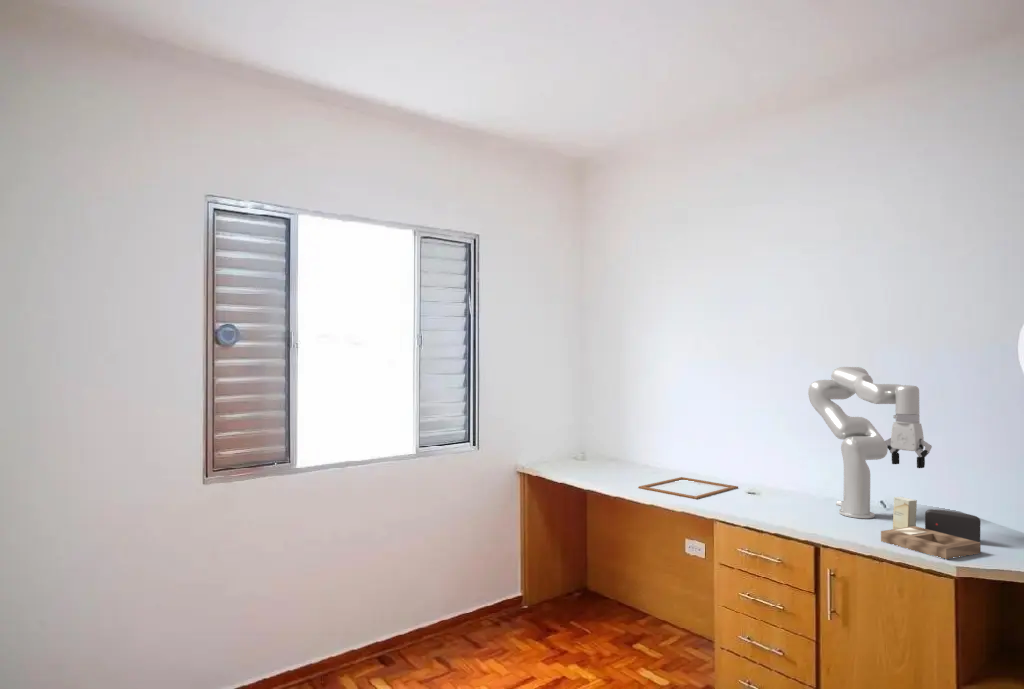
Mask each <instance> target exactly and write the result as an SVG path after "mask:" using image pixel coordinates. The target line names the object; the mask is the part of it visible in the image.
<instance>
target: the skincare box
mask: <svg viewBox="0 0 1024 689" xmlns="http://www.w3.org/2000/svg"><path fill="white" fill-rule="evenodd" d="M917 505H918V500H916V499H913V498H910V497H905V496H896V497H895V496H894V497H893V513H892V514H893V515H892V516H893V517H892V519H893V520H892V529H898V528H905V527H911V526H916V527H917Z"/></svg>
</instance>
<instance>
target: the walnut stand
mask: <svg viewBox="0 0 1024 689" xmlns="http://www.w3.org/2000/svg"><path fill="white" fill-rule="evenodd" d="M882 541H883V543H885V542H886V544H889V543H890V545H892V544H894V545H893V546H896V545H898V546H897V547H899V546H901V547H900V548H903V547H904V549H906V548H908V549H907V550H910V549H911V550H910V551H913V550H915V551H914V552H917V551H919V552H918V553H920V552H923V553H922V554H924V553H926V554H925V555H927V554H930V555H929V556H931V555H934V556H938V557H941V558H945V559H948V560H950V559H949V558H953V557H958V558H962V557H961V556H964V557H967V556H966V555H969V556H973V554H974V555H978V553H979V554H981V549H982V548H981V546H982V545H981V541H980V542H976V541H972V540H968V539H964V538H960V537H956V536H952V535H948V534H944V533H940V532H936V531H932V530H928V529H925V527H924V528H923V527H920V526H917V525H916V526H911V527H905V528H898V529H893V528H892V529H887V530H881V531H880V542H882ZM934 556H933V557H934ZM959 556H960V557H959ZM938 557H937V558H938ZM941 558H940V559H941ZM945 559H944V560H945ZM953 559H954V558H953Z"/></svg>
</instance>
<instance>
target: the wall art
mask: <svg viewBox="0 0 1024 689" xmlns="http://www.w3.org/2000/svg"><path fill="white" fill-rule="evenodd" d="M679 480H688V481H694V482H690V483H692V484H697V485H704V486H709V487H715V488H717V489H714V490H710V491H706V492H703V493H697V494H695V495H691V494H687V493H685V494H684V493H680V492H676V491H669V490H663V489H659V488H662V487H665V486H666V487H667V486H671V485H675V484H676V485H677V484H679V483H681V482H675V481H679ZM637 489H640V490H641V489H642V490H644V491H650V492H655V493H661V494H667V495H670V496H675V497H676V496H677V497H681V498H687V499H691V500H692V499H693V500H700V499H704V498H708V497H711V496H715V495H718V494H723V493H726V492H730V491H734V490H737V489H739V486H738V485H732V484H726V483H722V482H721V483H720V482H713V481H709V480H708V481H707V480H702V479H696V478H695V479H694V478H689V477H685V476H684V477H683V476H681V477H680V476H679V477H674V478H671V479H667V480H662V481H657V482H652V483H648V484H644V485H639V486H638V488H637Z"/></svg>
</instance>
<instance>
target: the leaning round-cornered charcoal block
mask: <svg viewBox="0 0 1024 689" xmlns="http://www.w3.org/2000/svg"><path fill="white" fill-rule="evenodd" d="M924 516H925V519H924V520H925V522H924V523H925V526H924V529H928V530H932V531H936V532H940V533H944V534H948V535H952V536H956V537H960V538H964V539H968V540H972V541H976V542H980V543H981V519H980V518H979V517H978V516H976V515H974V514H969V513H963V512H958V511H951V510H946V509H945V510H944V509H934V508H933V509H927V510H926V511H925V514H924Z"/></svg>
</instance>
